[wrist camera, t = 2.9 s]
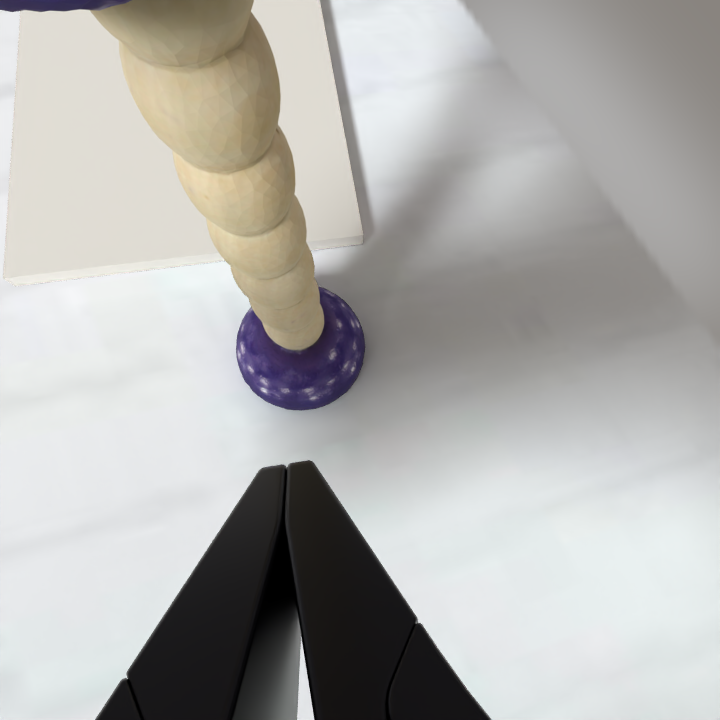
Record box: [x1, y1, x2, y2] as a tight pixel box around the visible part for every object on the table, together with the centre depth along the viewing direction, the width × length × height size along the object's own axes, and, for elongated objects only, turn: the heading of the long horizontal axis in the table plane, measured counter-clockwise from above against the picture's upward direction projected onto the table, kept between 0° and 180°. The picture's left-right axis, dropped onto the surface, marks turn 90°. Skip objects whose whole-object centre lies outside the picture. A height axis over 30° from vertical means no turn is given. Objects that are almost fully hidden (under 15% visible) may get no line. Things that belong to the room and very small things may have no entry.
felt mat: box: [3, 0, 364, 286], centre depth 18 cm, size 16×12×1 cm
